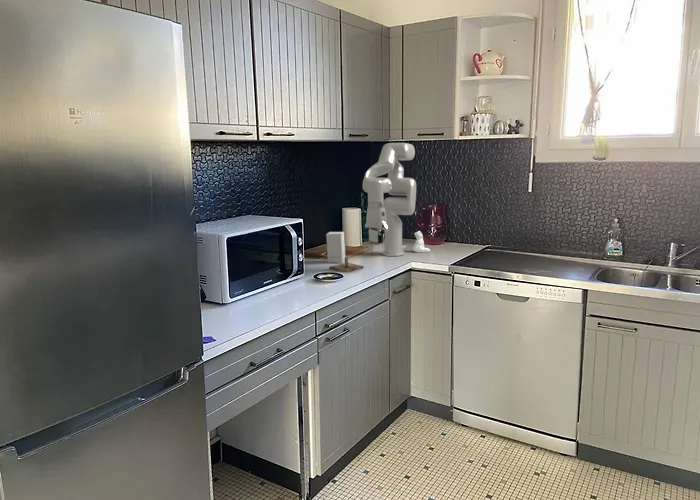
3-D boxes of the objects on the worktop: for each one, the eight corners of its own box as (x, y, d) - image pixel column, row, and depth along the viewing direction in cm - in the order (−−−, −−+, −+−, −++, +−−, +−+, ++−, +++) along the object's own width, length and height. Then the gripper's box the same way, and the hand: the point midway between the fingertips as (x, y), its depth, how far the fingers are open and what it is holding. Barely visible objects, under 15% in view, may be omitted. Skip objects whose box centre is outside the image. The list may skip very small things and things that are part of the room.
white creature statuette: (431, 252, 300) (431, 231, 298) (417, 254, 297) (417, 232, 295) (422, 249, 309) (423, 229, 307) (409, 251, 306) (409, 230, 304)
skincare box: (345, 260, 284) (345, 231, 281) (342, 263, 278) (341, 233, 275) (330, 260, 286) (329, 231, 283) (326, 262, 280) (326, 233, 277)
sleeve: (376, 241, 267) (375, 228, 265) (383, 243, 264) (383, 229, 262) (369, 243, 264) (368, 229, 262) (376, 244, 260) (376, 230, 259)
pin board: (346, 264, 275) (346, 254, 274) (363, 268, 266) (363, 257, 265) (329, 268, 267) (329, 257, 266) (346, 272, 258) (345, 261, 257)
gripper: (394, 205, 256) (394, 242, 260) (368, 202, 268) (369, 238, 272) (383, 207, 251) (384, 245, 255) (357, 204, 263) (358, 240, 267)
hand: (376, 241), depth 263 cm, fingers closed on sleeve, 5 cm apart
